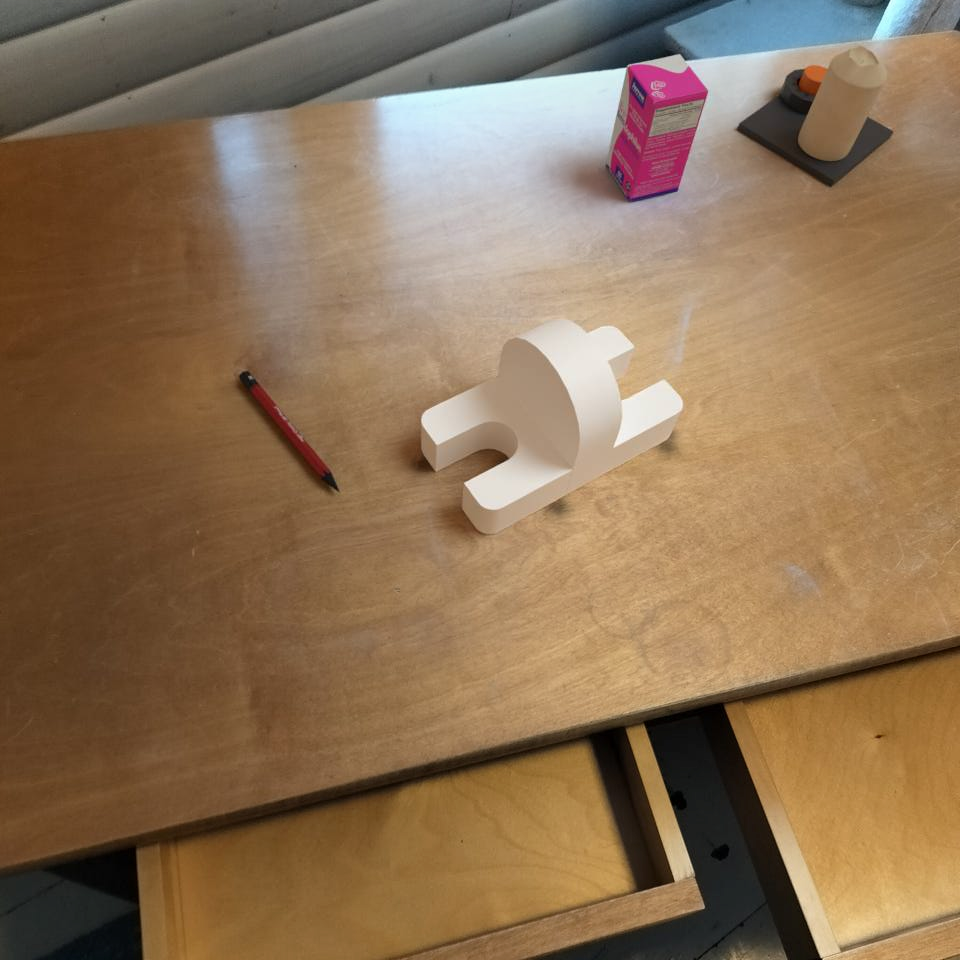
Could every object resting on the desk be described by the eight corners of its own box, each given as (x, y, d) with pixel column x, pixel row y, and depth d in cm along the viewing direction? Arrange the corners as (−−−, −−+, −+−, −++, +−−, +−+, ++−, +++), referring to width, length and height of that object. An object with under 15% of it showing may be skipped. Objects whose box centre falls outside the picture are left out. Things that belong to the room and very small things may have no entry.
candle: (859, 156, 89) (906, 67, 80) (815, 166, 88) (858, 77, 79) (830, 123, 91) (872, 34, 83) (787, 133, 90) (825, 43, 82)
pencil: (335, 499, 65) (334, 492, 64) (240, 381, 70) (238, 373, 69) (345, 493, 65) (344, 486, 64) (249, 376, 70) (247, 368, 69)
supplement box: (602, 166, 87) (625, 61, 77) (653, 156, 88) (683, 51, 78) (627, 204, 84) (654, 100, 74) (679, 192, 86) (713, 89, 76)
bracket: (484, 540, 64) (496, 458, 54) (415, 443, 68) (414, 350, 58) (677, 434, 70) (719, 343, 60) (603, 351, 74) (631, 253, 64)
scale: (796, 82, 97) (805, 62, 94) (892, 136, 92) (903, 116, 90) (733, 128, 91) (740, 107, 89) (830, 187, 87) (841, 167, 85)
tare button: (807, 76, 94) (814, 61, 92) (831, 89, 93) (837, 74, 91) (792, 87, 92) (799, 72, 91) (816, 100, 91) (822, 85, 90)
